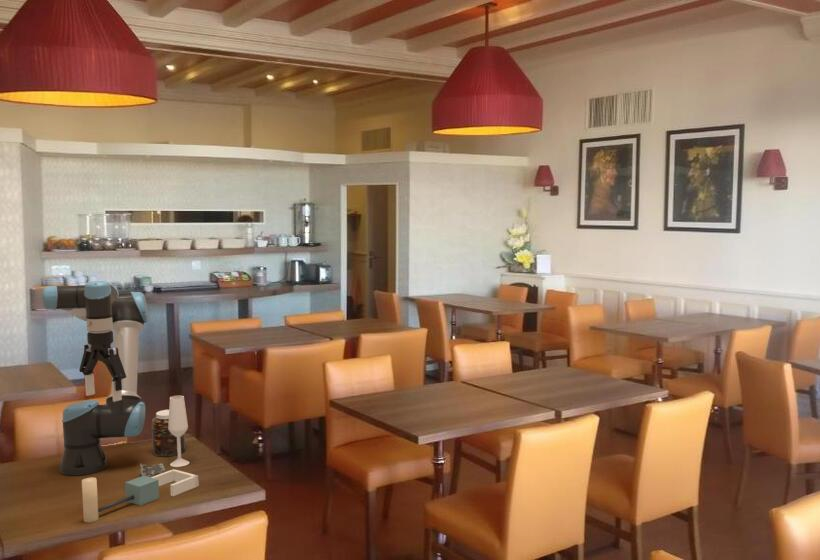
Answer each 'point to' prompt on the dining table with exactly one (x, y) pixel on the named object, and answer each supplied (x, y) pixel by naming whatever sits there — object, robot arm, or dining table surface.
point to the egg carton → (152, 470)
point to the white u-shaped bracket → (178, 481)
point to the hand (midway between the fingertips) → (103, 397)
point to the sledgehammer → (136, 493)
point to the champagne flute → (178, 425)
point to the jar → (164, 436)
